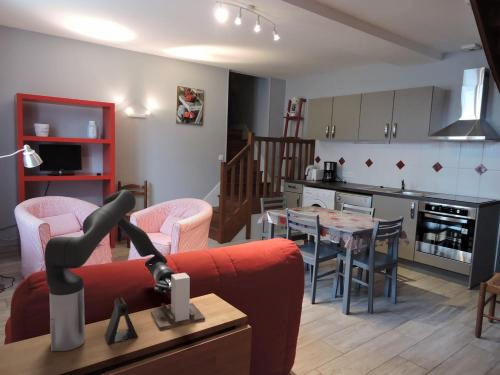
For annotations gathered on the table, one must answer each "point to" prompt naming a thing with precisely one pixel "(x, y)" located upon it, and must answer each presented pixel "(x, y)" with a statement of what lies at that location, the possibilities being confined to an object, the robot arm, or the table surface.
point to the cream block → (180, 296)
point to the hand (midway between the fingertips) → (178, 293)
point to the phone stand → (111, 331)
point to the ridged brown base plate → (167, 320)
